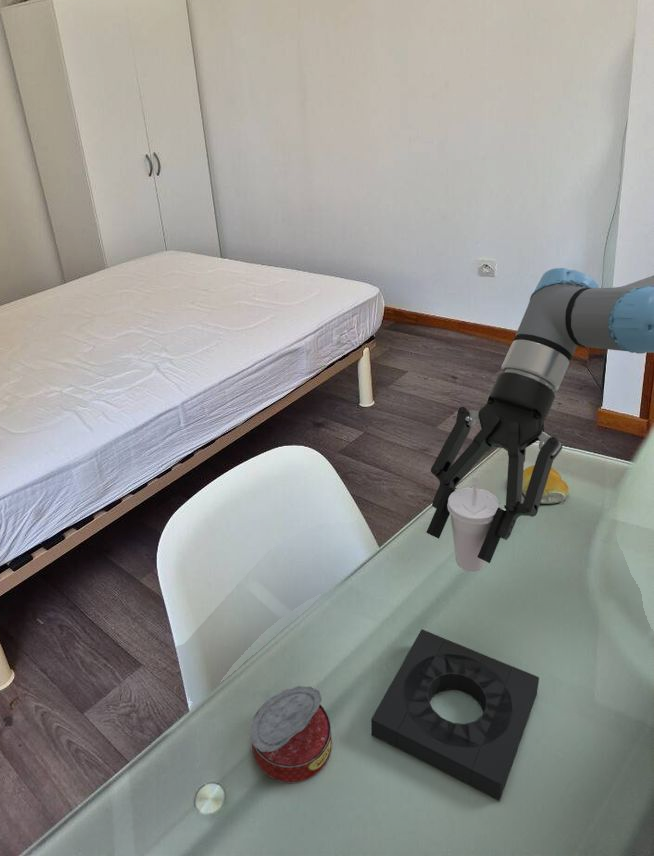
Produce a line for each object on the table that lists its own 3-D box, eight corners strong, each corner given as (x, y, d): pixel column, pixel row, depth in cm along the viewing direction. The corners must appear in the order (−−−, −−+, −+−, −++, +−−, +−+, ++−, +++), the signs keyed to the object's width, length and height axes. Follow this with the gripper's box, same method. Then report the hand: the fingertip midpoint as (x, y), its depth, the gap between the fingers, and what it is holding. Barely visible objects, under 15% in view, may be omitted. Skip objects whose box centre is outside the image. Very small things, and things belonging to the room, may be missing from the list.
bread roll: (553, 474, 130) (556, 456, 129) (573, 503, 122) (576, 485, 121) (510, 477, 130) (512, 459, 129) (527, 507, 122) (529, 488, 121)
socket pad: (537, 693, 89) (539, 677, 88) (499, 801, 78) (501, 784, 76) (421, 644, 98) (421, 628, 96) (371, 735, 86) (371, 719, 84)
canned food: (283, 807, 83) (240, 781, 77) (262, 729, 91) (222, 700, 86) (361, 759, 82) (324, 729, 77) (333, 684, 91) (297, 652, 85)
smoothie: (444, 575, 88) (447, 486, 82) (446, 542, 94) (449, 456, 88) (496, 581, 86) (503, 491, 80) (495, 547, 92) (501, 460, 86)
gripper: (610, 414, 86) (540, 587, 82) (469, 373, 98) (404, 522, 95) (598, 393, 80) (523, 579, 77) (451, 352, 92) (381, 510, 89)
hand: (457, 547), depth 86 cm, fingers closed on smoothie, 6 cm apart
